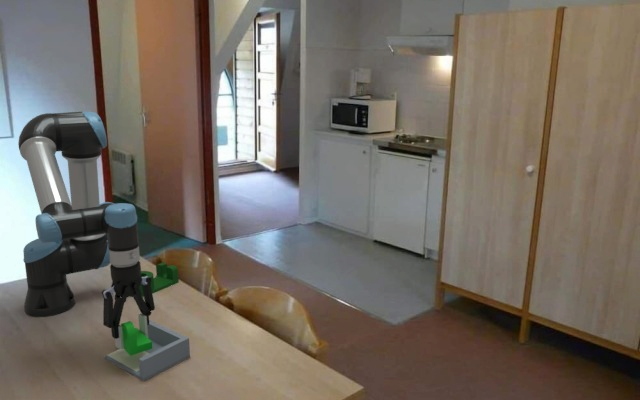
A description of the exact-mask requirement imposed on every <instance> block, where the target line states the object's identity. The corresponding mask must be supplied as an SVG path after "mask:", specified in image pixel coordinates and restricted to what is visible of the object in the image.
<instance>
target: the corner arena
mask: <svg viewBox="0 0 640 400" xmlns="http://www.w3.org/2000/svg"><path fill="white" fill-rule="evenodd" d="M147 328H148V338H149V339H150V340H151V341H152V349H149V350H146V351H143V352H140V353H137V354H134V355H131V356H130V355H129V354H128V353H127V352H126V351H125V350H124V349H122V350H121V349H119V348H118V349H116V350H114V351H112V352H110V353H108V354H105V355H104V356H103V357H104V360H106V361H108V362H110V363H111V364H113V365H115V366H117V367H118V368H120V369H121V370H124V371H125V372H128V373H129V374H131V375H132V376H135V378H138V379H140V380H142V381H143V382H145V381H147V380H149V379H151V378H152V377H154V376H157V375H159V374H160V373H162V372H164V371H166V370H168V369H170V368H172V367H174V366H177V364H179V363H182V362H183V361H185V360H188V359H189V358H191V350H190V338H189V337H188V336H185V335H183V334H181V333H180V332H179V333H178V332H176V331H175V330H173V329H171V328H168V327H166V326H164V325H162V324H159V323H157V322H155V321H152V320H151V319H149V325H147Z"/></svg>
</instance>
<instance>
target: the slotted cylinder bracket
mask: <svg viewBox="0 0 640 400" xmlns="http://www.w3.org/2000/svg"><path fill="white" fill-rule="evenodd" d="M155 270H156V271H155V272H156V276H155V277H154V273H153V272H152V271H149V270H141V275H140V276H141V277H143V276H147V277H150V278H151V290H152V295H153V294H155V293H158V292H159V291H160V292H161V291H162V290H165V289H166V288H169V287H172V286H174V285H176V284H178V283H179V281H180V280H179V279H180V278H179V268H178V266H176V265H173V264H171V265H168V263H167V262H161V263H158V264H156V266H155ZM171 285H172V286H171ZM139 289H140V291H141V293H142V294H141V295H142V297H143V298H144V295H143V290H142V284H140V287H139ZM130 297H132V298H134V297H133V295H132V296H130Z"/></svg>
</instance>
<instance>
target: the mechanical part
mask: <svg viewBox="0 0 640 400" xmlns="http://www.w3.org/2000/svg"><path fill="white" fill-rule="evenodd" d="M120 326H122V331H123V342H124V350H125V351H126V352H127V353H128V354H129V355H130V356H131V355H134V354H137V353H140V352H143V351H146V350H149V349H152V341H151V340H150V339H149V338H147V337H146V336H145V335H144V334H143V333H142V332H141V331H140V329H139V328H137V327H135V325H134V323H133V322H132V321H131V320H129V321H126V322H123V323H121V325H120ZM113 339H114V340H115V338H113Z"/></svg>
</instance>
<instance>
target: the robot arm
mask: <svg viewBox="0 0 640 400" xmlns="http://www.w3.org/2000/svg"><path fill="white" fill-rule="evenodd" d="M107 139H108V138H107V134H106V129H105V126H104V123H103V121H102V119H101V116H99V114H98V113H97V112H93V111H83V110H82V111H74V112H73V111H72V112H69V111H68V112H56V113H55V112H53V113H49V112H47V113H43V114H42V113H41V114H39V115H36V116H35V117H32V119H30V120H29V121H28V122H27V123H26V124H25V125H24V126H23V128H22V130H21V132H20V134H19V136H18V149H19V154H20V155H21V158H22V159H23V160H25V161H26V164H27V167H28V171H29V175H30V178H31V181H32V182H31V183H32V185H33V188H34V192H35V196H36V199H37V203H38V206H39V210H40V214H37V215H36V216H35V228H36V229H35V230H36V233H37V238H36V239H33V240H32V241H30V242H28V243H27V244H25V246H24V248H23V251H22V252H23V259H22V260H23V262H24V265H25V267H24V269H25V276H26V283H27V291H26V294H25V299H24V305H23V306H24V312H25V314H26V315H28V316H31V317H38V318H39V317H41V318H42V317H50V316H54V315H58V314H61V313H65V312H66V311H68V310H70V309H72V308H73V307H74V306H75V304H76V300H75V299H76V298H75V294H74V293H73V291H72V289H71V287H70V285H69V283H68V280H67V278H68V277H67V275H71V274H75V273H82V272H86V271H87V272H88V271H91V270H92V271H93V270H98V269H102V268H104V267H107V266H109V265H110V266H109V268H110V277H111V281H112V282H111V286H110V288H108V289H107V290H105V289H103V290H102V291H101V295H102V298H103V310H102V311H103V317H102V318H103V326H104V327H107V328H108V329H111V330H110V331H111V336H112V338H113V339H114V338H115V339H114V340H115V341H114V343H115V347H116V348H117V349H118V350H119V349H121V350H122V349H124V342H123V331H122V326H121V325H120V323H121V319H122V316H123V315H122V314H123V310H124V305H125V303H126V302H127V298H129V297H131V296H132V295H133V297H132V298H133V299H134V301H135V303H136V305H137V308H138V310H139V312H140V313H139V314H137V315H138V326H139V328H138V329H139V330H140V331H141V332H142V333H143V334H144V335H145V336H146V337H147V338H148V328H147V325H149V320H150V316H151V315H152V311H155V307H156V305H155V301H154V296H153V294H152V290H151V278H150V277H147V276H143V277H141V276H140V275H141V271H142V268H141V265H142V264H141V261H140V259H141V258H140V243H139V233H138V230H139V229H138V215H137V210H136V207H135V206H134V204H132V203H128V202H127V203H126V202H124V203H123V202H121V203H120V202H119V203H118V202H117V203H114V202H112V201H111V202H109V201H105V202H102V203H100V202H101V201H100V190H99V189H100V188H99V177H98V176H99V174H98V172H99V171H98V159H99V158H100V157H101V156H102V149H105V148H106V147H108V140H107ZM57 152H61V157H62V158H64V159H65V160H66V161H67V168H68V179H69V180H68V181H69V182H68V183H69V192H70V193H68V191H67V187H66V184H65V182H64V179H63V178H64V177H63V176H62V173H61V169H60V166H59V163H58V161H57V158H56V153H57ZM69 194H70V196H69ZM140 284H142V290H143V295H144V297H142V295H141V294H142V293H141V291H140V289H139V287H140ZM114 294H115V295H114ZM113 297H114V299H113Z"/></svg>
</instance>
